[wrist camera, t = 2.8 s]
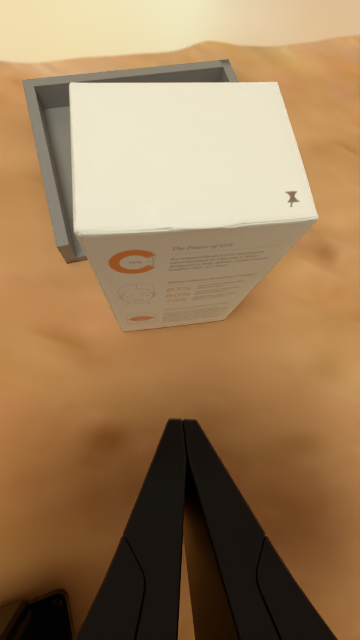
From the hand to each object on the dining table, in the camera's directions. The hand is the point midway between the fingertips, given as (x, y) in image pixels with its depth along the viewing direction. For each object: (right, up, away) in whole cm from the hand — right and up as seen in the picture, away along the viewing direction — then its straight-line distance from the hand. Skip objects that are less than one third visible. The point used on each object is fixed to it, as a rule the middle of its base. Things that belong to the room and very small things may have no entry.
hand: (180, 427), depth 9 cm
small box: (-1, +6, +14) cm, 15 cm away
